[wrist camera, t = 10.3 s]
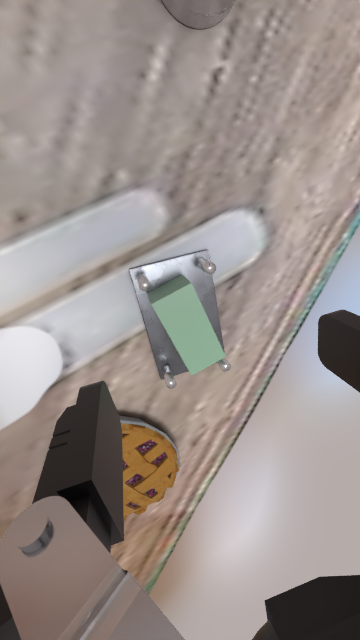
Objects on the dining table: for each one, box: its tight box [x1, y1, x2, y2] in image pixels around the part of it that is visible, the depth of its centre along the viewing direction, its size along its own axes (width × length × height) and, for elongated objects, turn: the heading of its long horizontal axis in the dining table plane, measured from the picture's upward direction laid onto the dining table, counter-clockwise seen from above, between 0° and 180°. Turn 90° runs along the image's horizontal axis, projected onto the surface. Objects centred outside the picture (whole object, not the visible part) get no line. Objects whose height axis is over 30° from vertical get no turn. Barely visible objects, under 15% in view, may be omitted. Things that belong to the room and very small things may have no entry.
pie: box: [119, 415, 181, 520], centre depth 44 cm, size 22×22×5 cm
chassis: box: [129, 250, 231, 389], centre depth 37 cm, size 18×11×5 cm, turn 12°
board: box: [147, 275, 226, 376], centre depth 36 cm, size 12×6×5 cm, turn 25°
